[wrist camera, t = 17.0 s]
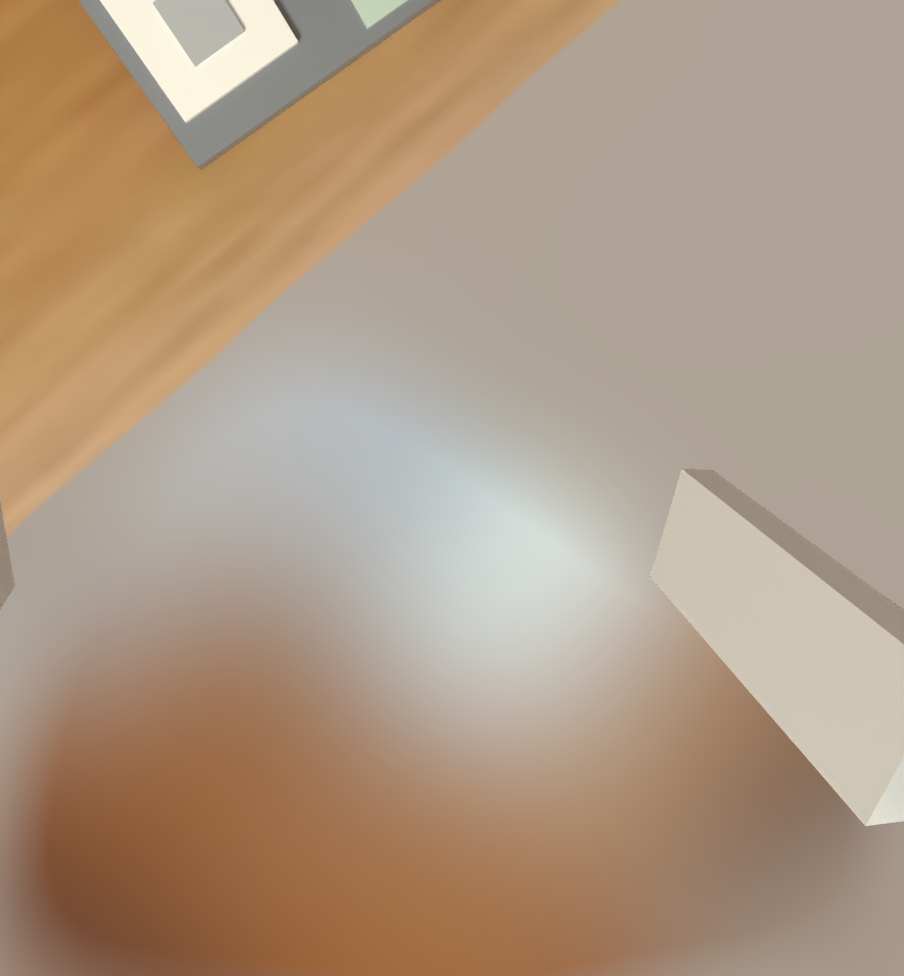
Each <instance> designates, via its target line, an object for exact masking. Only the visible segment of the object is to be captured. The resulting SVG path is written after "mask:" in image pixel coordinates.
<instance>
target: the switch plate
mask: <svg viewBox="0 0 904 976" xmlns="http://www.w3.org/2000/svg"><path fill="white" fill-rule="evenodd" d="M78 1H79V2H80V4H81V5H82V7H83V8H84V9H85V11H86V12H87V14H88V15H89V16H90V18H91V19H92V21H93V22H94V23H95V25H96V26H97V28H98V29H99V30H100V32H101V33H102V35H103V36H104V37H105V39H106V40H107V42H108V43H109V44H110V46H111V47H112V49H113V50H114V51H115V53H116V54H117V56H118V57H119V58H120V60H121V61H122V63H123V64H124V65H125V67H126V68H127V70H128V71H129V72H130V74H131V75H132V77H133V78H134V79H135V81H136V82H137V84H138V85H139V86H140V88H141V89H142V91H143V92H144V93H145V95H146V96H147V98H148V99H149V100H150V102H151V103H152V105H153V106H154V107H155V109H156V110H157V112H158V113H159V114H160V116H161V117H162V119H163V120H164V122H165V123H166V124H167V126H168V127H169V129H170V130H171V131H172V133H173V134H174V136H175V137H176V138H177V140H178V141H179V143H180V144H181V145H182V147H183V148H184V150H185V151H186V152H187V154H188V155H189V157H190V158H191V159H192V161H193V162H194V164H195V165H196V166H197V168H199V169H203V168H204V167H205V166H207V165H208V164H210V163H211V162H213V161H214V160H215V159H217V158H218V157H220V156H221V155H222V154H224V153H225V152H227V151H228V150H230V149H231V148H232V147H234V146H235V145H237V144H238V143H239V142H241V141H242V140H244V139H245V138H246V137H248V136H249V135H251V134H252V133H254V132H255V131H256V130H258V129H259V128H261V127H262V126H263V125H265V124H266V123H268V122H269V121H270V120H272V119H273V118H275V117H276V116H278V115H279V114H280V113H282V112H283V111H285V110H286V109H287V108H289V107H290V106H292V105H293V104H294V103H296V102H297V101H299V100H300V99H302V98H303V97H304V96H306V95H307V94H309V93H310V92H311V91H313V90H314V89H316V88H317V87H318V86H320V85H321V84H323V83H324V82H326V81H327V80H328V79H330V78H331V77H333V76H334V75H335V74H337V73H338V72H340V71H341V70H343V69H344V68H345V67H347V66H348V65H350V64H351V63H352V62H354V61H355V60H357V59H358V58H359V57H361V56H362V55H364V54H365V53H367V52H368V51H369V50H371V49H372V48H374V47H375V46H376V45H378V44H379V43H381V42H382V41H383V40H385V39H386V38H388V37H389V36H391V35H392V34H393V33H395V32H396V31H398V30H399V29H400V28H402V27H403V26H405V25H406V24H407V23H409V22H410V21H412V20H413V19H415V18H416V17H417V16H419V15H420V14H422V13H423V12H424V11H426V10H427V9H429V8H430V7H431V6H433V5H434V4H436V3H437V2H439V1H440V0H78Z"/></svg>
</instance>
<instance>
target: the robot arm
mask: <svg viewBox="0 0 904 976" xmlns="http://www.w3.org/2000/svg"><path fill="white" fill-rule="evenodd" d="M650 577H651V578H652V579H653V580H654V582H655V583H656V584H657V585H658V586H659V587H660V588H661V590H662V591H663V592H664V593H665V594H666V595H667V597H668V598H669V599H670V600H671V601H672V602H673V604H674V605H675V606H676V607H677V608H678V609H679V611H680V612H681V613H682V614H683V615H684V616H685V617H686V618H687V620H688V621H689V622H690V623H691V624H692V626H693V627H694V628H695V629H696V630H697V631H698V632H699V633H700V635H701V636H702V637H703V638H704V639H705V641H706V642H707V643H708V644H709V645H710V646H711V648H712V649H713V650H714V651H715V652H716V653H717V655H718V656H719V657H720V658H721V659H722V660H723V661H724V663H725V664H726V665H727V666H728V667H729V668H730V670H731V671H732V672H733V673H734V674H735V675H736V676H737V678H738V679H739V680H740V681H741V682H742V683H743V685H744V686H745V687H746V688H747V689H748V690H749V691H750V693H751V694H752V695H753V696H754V697H755V698H756V700H757V701H758V702H759V703H760V704H761V705H762V707H763V708H764V709H765V710H766V711H767V712H768V714H769V715H770V716H771V717H772V718H773V719H774V721H775V722H776V723H777V724H778V725H779V726H780V727H781V729H782V730H783V731H784V732H785V733H786V734H787V736H788V737H789V738H790V739H791V740H792V741H793V743H794V744H795V745H796V746H797V747H798V748H799V749H800V751H801V752H802V753H803V754H804V755H805V756H806V757H807V759H808V760H809V761H810V762H811V763H812V764H813V766H814V767H815V768H816V769H817V770H818V771H819V772H820V774H821V775H822V776H823V777H824V778H825V779H826V781H827V782H828V783H829V784H830V785H831V787H832V788H833V789H834V790H835V791H836V792H837V793H838V795H839V796H840V797H841V798H842V799H843V800H844V801H845V803H846V804H847V805H848V806H849V807H850V808H851V809H852V811H853V812H854V813H855V814H856V815H857V817H858V818H859V819H860V820H861V821H862V822H863V824H864V825H865V826H868V825H876V824H884V823H892V822H900V821H904V610H903V609H901V608H900V607H899V606H897V605H896V604H894V603H893V602H892V601H891V600H889V599H888V598H886V597H885V596H883V595H882V594H881V593H879V592H878V591H877V590H875V589H874V588H873V587H871V586H870V585H868V584H867V583H866V582H864V581H863V580H862V579H860V578H859V577H858V576H856V575H855V574H854V573H852V572H851V571H849V570H848V569H847V568H845V567H844V566H843V565H841V564H840V563H839V562H837V561H836V560H835V559H833V558H832V557H830V556H829V555H828V554H826V553H825V552H823V551H822V550H821V549H820V548H818V547H817V546H815V545H814V544H813V543H811V542H810V541H809V540H807V539H806V538H804V537H803V536H802V535H801V534H799V533H798V532H796V531H795V530H794V529H792V528H791V527H789V526H788V525H787V524H786V523H784V522H783V521H781V520H780V519H779V518H777V517H776V516H775V515H773V514H772V513H771V512H769V511H768V510H767V509H765V508H764V507H762V506H761V505H760V504H758V503H757V502H756V501H754V500H753V499H752V498H750V497H749V496H747V495H746V494H745V493H743V492H742V491H741V490H739V489H738V488H737V487H735V486H734V485H733V484H731V483H730V482H728V481H727V480H726V479H724V478H723V477H722V476H720V475H719V474H718V473H716V472H715V471H713V470H697V469H696V470H695V469H682V470H681V474H680V477H679V481H678V484H677V488H676V491H675V494H674V498H673V501H672V505H671V508H670V511H669V515H668V519H667V522H666V525H665V528H664V532H663V535H662V539H661V542H660V545H659V549H658V552H657V556H656V559H655V562H654V566H653V569H652V573H651V576H650ZM14 587H15V583H14V577H13V572H12V566H11V560H10V555H9V549H8V543H7V537H6V532H5V526H4V520H3V515H2V509H1V503H0V609H1V607H2V606H3V604H4V602H5V601H6V599H7V598H8V596H9V595H10V593H11V591H12V590H13V588H14Z"/></svg>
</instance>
